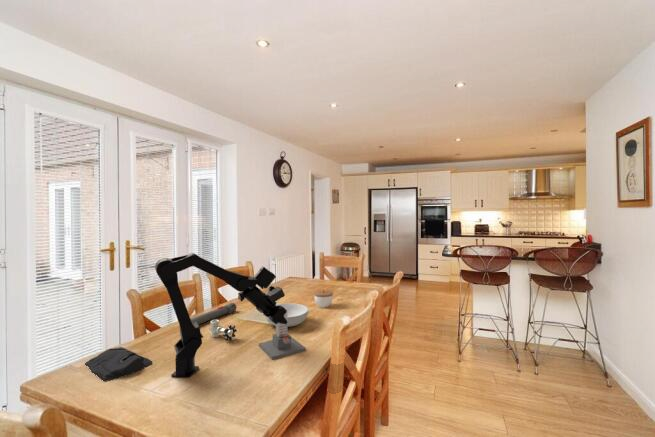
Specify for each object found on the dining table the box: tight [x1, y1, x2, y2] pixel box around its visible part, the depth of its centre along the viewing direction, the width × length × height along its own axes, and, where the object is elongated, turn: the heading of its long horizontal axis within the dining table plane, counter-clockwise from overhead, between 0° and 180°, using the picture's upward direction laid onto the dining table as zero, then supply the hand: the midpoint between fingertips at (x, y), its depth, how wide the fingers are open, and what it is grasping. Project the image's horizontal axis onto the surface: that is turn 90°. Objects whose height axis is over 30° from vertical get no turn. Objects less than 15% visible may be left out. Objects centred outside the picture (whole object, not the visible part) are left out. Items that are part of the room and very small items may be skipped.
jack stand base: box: [258, 333, 307, 360], centre depth 124 cm, size 14×14×5 cm
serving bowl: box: [264, 302, 309, 328], centre depth 151 cm, size 21×21×7 cm
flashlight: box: [190, 302, 237, 326], centre depth 159 cm, size 5×28×5 cm, turn 153°
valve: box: [209, 319, 237, 342], centre depth 135 cm, size 7×7×12 cm
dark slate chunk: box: [84, 346, 153, 382], centre depth 112 cm, size 15×22×5 cm
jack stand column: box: [275, 308, 289, 338], centre depth 124 cm, size 4×4×11 cm
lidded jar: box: [313, 289, 334, 309], centre depth 179 cm, size 11×11×9 cm
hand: (284, 321), depth 125 cm, fingers closed on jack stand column, 4 cm apart
